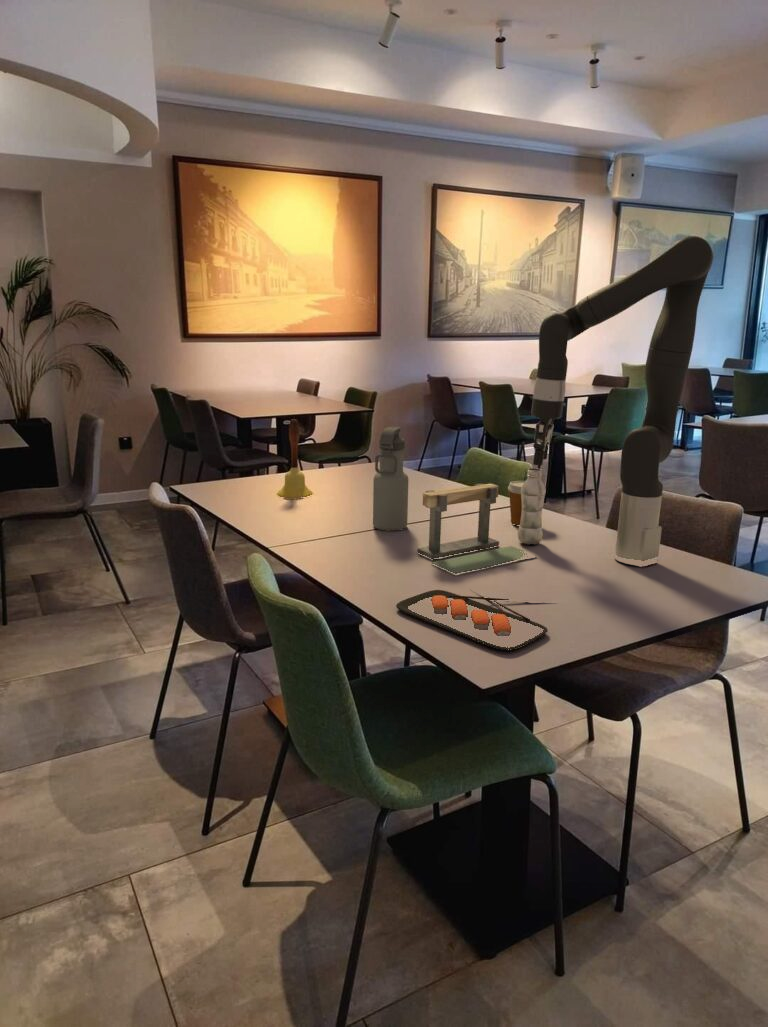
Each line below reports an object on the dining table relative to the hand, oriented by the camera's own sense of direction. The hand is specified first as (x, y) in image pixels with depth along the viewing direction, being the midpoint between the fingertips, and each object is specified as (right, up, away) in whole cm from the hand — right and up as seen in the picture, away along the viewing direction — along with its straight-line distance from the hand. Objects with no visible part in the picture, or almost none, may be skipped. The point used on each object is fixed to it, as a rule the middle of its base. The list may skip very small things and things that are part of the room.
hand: (540, 461), depth 181 cm
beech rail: (-20, -10, -1) cm, 22 cm away
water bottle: (-38, -17, +23) cm, 47 cm away
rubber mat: (-15, -25, -6) cm, 29 cm away
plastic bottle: (-1, -21, +9) cm, 23 cm away
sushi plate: (-17, -34, -36) cm, 52 cm away
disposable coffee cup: (+1, -16, +28) cm, 32 cm away
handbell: (-69, -7, +59) cm, 91 cm away
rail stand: (-20, -22, +3) cm, 30 cm away
